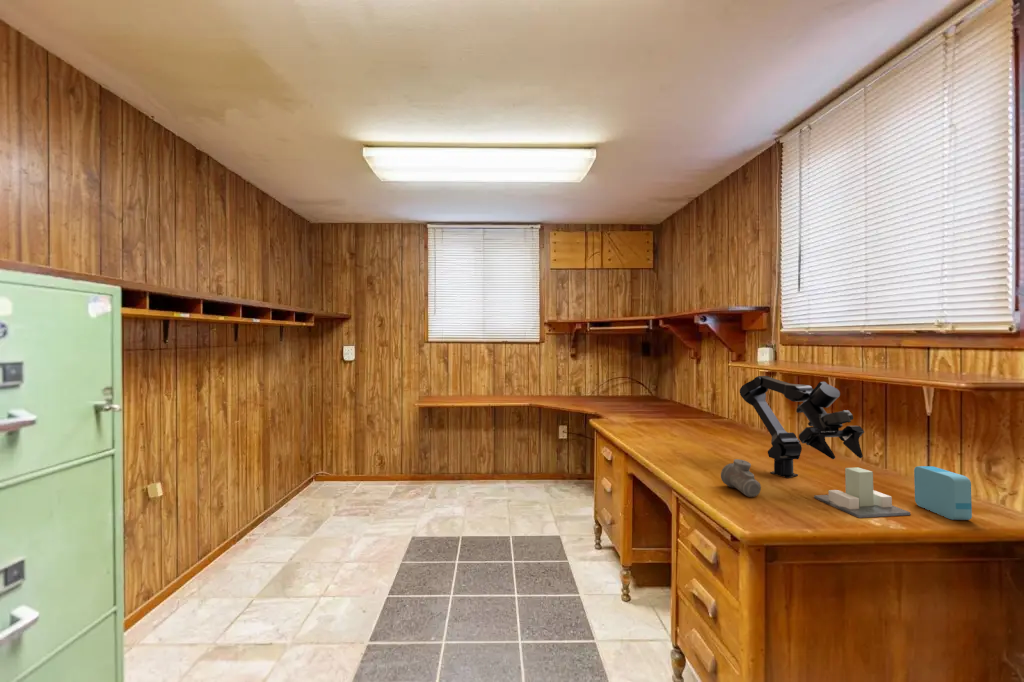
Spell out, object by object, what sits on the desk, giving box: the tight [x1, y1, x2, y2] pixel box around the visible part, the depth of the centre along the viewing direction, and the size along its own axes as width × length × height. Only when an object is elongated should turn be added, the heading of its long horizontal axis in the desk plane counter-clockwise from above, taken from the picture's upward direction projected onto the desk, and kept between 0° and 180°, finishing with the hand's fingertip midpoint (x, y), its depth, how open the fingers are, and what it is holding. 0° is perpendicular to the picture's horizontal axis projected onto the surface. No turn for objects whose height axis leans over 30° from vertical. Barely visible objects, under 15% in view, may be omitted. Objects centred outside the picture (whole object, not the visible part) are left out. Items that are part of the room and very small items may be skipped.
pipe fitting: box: [720, 458, 762, 498], centre depth 135 cm, size 12×8×10 cm
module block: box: [844, 466, 874, 507], centre depth 122 cm, size 4×4×10 cm
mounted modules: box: [828, 489, 893, 509], centre depth 122 cm, size 14×7×3 cm, turn 95°
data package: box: [913, 465, 973, 521], centre depth 117 cm, size 12×4×12 cm, turn 176°
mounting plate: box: [813, 494, 911, 519], centre depth 122 cm, size 16×15×1 cm
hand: (847, 457), depth 126 cm, fingers open, 9 cm apart
